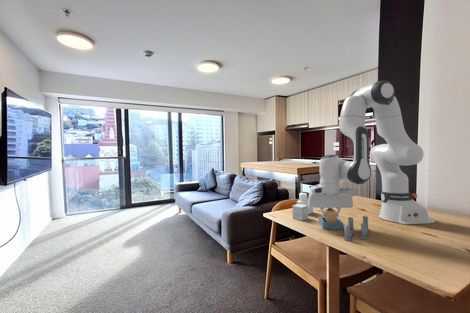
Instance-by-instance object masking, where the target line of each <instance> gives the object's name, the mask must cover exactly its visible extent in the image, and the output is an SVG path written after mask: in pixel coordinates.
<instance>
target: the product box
mask: <svg viewBox="0 0 470 313" xmlns="http://www.w3.org/2000/svg"><path fill="white" fill-rule="evenodd" d="M292 219H294V220H299V221H301V222H303V221H305V220H308V219H309V215H308V205H303V204H297V203H296V204H293V205H292Z"/></svg>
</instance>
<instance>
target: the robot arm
mask: <svg viewBox="0 0 470 313" xmlns="http://www.w3.org/2000/svg"><path fill="white" fill-rule="evenodd" d="M395 91H396V90H395V87H394V85H393V84H392V82H390V81H388V80H380V81H379V80H377V81H376V82H374V83H373V82H372V83H369V84H367V85H364V86H363V87H361V88H359V89H355V91H352V93H350V95H349V96H347V97H346V98H345V99H344V101H343V104H342V107H341V110H340V115H339V122H338V127H339V131H340V132H341V133H342V134H343V135H344V136H346V137H347V138H349V139H350V140H351V141H352V142H353V160H351V161H349V160H346V159H342V158H340V157H339V156H338V155H337V154H328V155H324V156H322V157H321V158H320V160H319V170H318V172H319V176H320V177H319V178H320V179H319V183H318V184H316V185H313V186H311V187H310V192H308V193H309V197H308V205H309V206H310V207H311V208H313V209H314V208H316V209H317V208H319V209H320V211H321V213H322V217H326V212H325V209H328V208H333V209H335V208H336V210H335V211H336V217H338V218H339V214H340V212H341V210H342V209H343V208H344V209H345V208H346V209H348V208H349V209H352V208H353V207H354V200H353V196H354V192H353V190H352V189H351V188H349V187H346V188H345V187H341V186H340V185H341V184H340V183H341V182H340V181H345V182H350V183H353V184H356V185H363V184H365V183H367V182H368V181H369V180H370V179H371V176H372V169H371V165H370V159H371V160H372V162H374V163H375V164H376V166H377V168H378V169H379V172H380V176H381V192H380V198H381V208H380V212H379V214H378V217H379V218H380V219H382V220H385V221H387V222H392V223H398V224H401V225H424V224H436V222H435V219H433V218H432V217H430V216H429V213H428V211H427V208H426V207H425V206H423V205H421V204H420V203H419V202H417V201H415V200H414V199H417V198H418V194H417V193H414V192H413V193H412V192H409V177H408V175H407V174H406V173H404V172H403V171H402V170H401V168H400V166H412V165H418V164H419V163H421V162H422V160H423V159H424V154H425V153H424V150H423V148H422V147H421V146H420V145H419V144H417V143H415V142H414V141H413V140H412V139H411V138H410V137H409V135H408V133H407V131H406V130H405V127H404V126H405V125H404V121H403V117H402V111H401V107H400V103H399V101H398V99H397V97H396V96H395ZM370 108H372V109H373V111H374V112H373V113H374V120H375V121H374V122H375V126H376V131H377V134H378V136H380V137H381V138H382V139H384V141H385V142H386V143H382V144H377V145H374V146H372V148H371V149H370V137H369V131H368V130H367V128H366V113H367V112H366V111H367V109H370ZM413 198H414V199H413Z"/></svg>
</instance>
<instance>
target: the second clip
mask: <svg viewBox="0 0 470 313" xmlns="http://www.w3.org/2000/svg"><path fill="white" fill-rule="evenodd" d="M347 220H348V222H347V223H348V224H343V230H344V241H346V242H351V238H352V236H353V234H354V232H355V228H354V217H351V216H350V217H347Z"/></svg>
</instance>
